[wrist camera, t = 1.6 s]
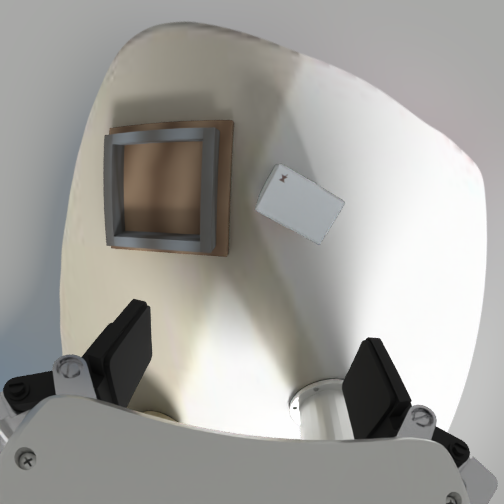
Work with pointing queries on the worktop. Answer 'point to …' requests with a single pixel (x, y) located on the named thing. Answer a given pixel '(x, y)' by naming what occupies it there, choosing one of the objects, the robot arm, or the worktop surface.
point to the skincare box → (298, 203)
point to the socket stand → (169, 187)
